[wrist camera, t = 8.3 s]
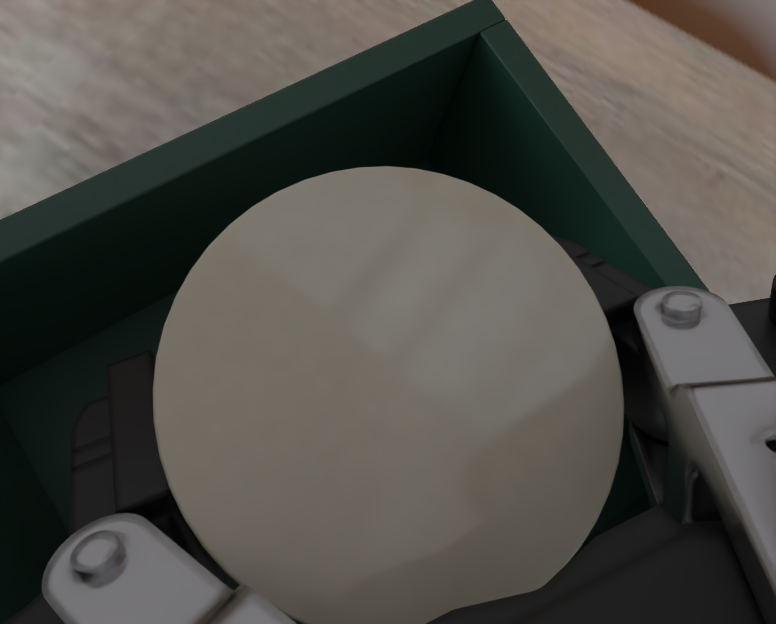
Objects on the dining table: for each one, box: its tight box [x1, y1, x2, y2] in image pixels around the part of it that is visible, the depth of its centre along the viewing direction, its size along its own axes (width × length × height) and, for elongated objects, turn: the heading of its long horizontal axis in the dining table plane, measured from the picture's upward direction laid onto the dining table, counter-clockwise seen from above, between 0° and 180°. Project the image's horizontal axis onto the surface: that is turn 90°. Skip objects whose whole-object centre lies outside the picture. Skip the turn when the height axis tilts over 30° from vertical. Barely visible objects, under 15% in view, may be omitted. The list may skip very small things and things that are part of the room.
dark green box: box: [0, 0, 710, 624], centre depth 15 cm, size 16×14×7 cm
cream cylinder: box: [152, 166, 624, 624], centre depth 13 cm, size 6×6×10 cm
